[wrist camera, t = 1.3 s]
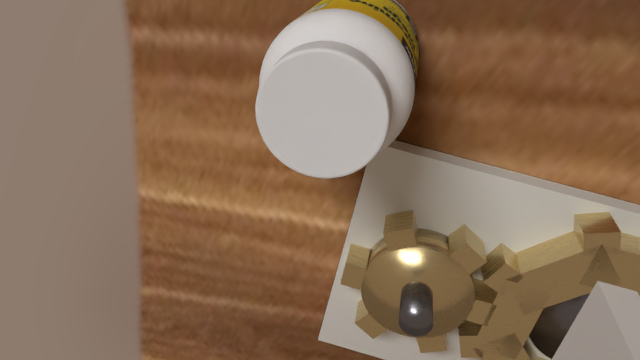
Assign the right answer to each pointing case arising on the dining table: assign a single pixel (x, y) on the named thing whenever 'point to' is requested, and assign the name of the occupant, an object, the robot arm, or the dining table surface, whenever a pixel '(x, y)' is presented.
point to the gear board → (453, 226)
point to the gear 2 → (549, 288)
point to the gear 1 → (418, 282)
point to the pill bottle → (338, 86)
